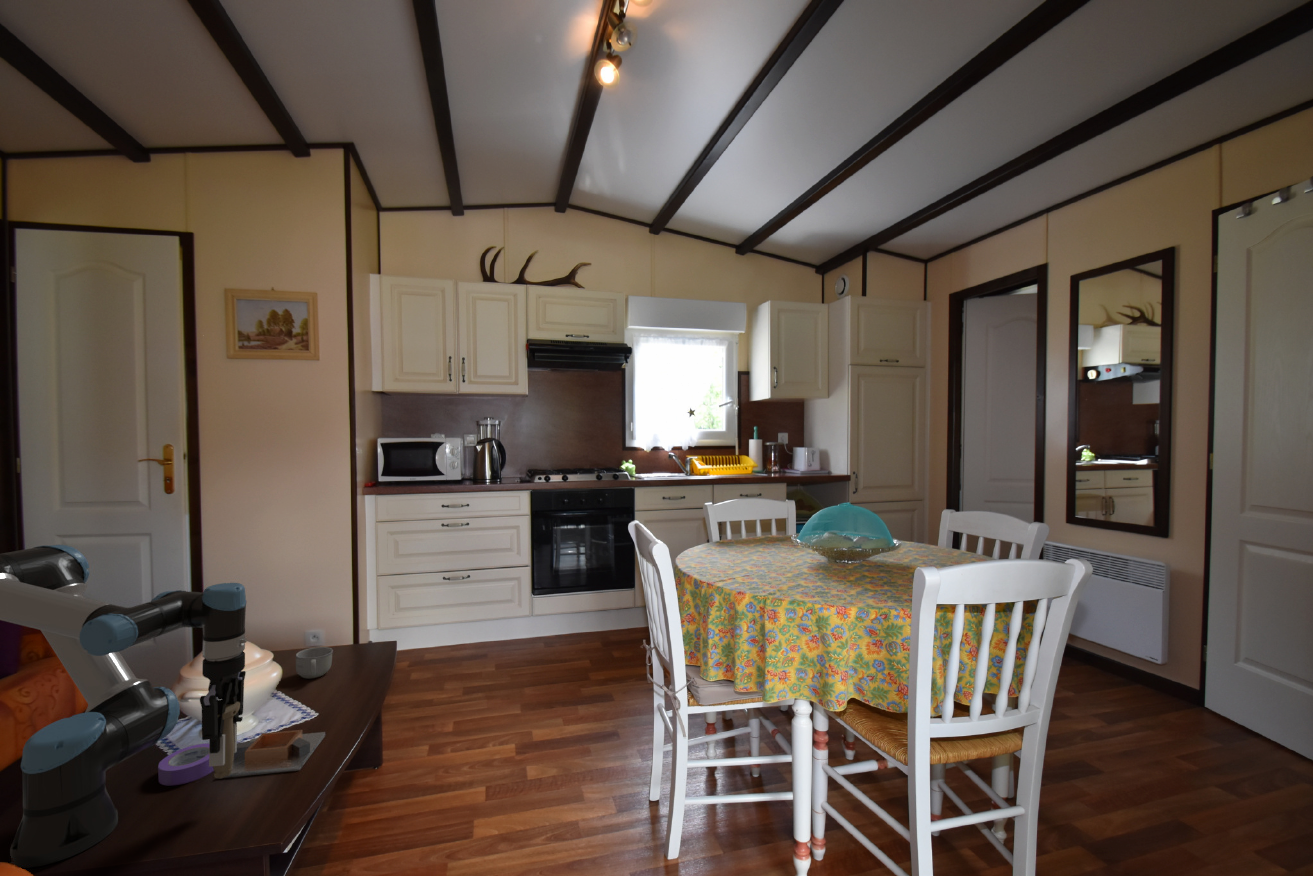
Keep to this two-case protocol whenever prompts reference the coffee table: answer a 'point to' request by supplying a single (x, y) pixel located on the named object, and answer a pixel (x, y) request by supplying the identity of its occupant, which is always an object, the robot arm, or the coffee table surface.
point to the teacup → (313, 662)
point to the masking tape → (185, 765)
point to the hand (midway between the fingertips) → (223, 758)
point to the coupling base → (274, 753)
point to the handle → (227, 741)
